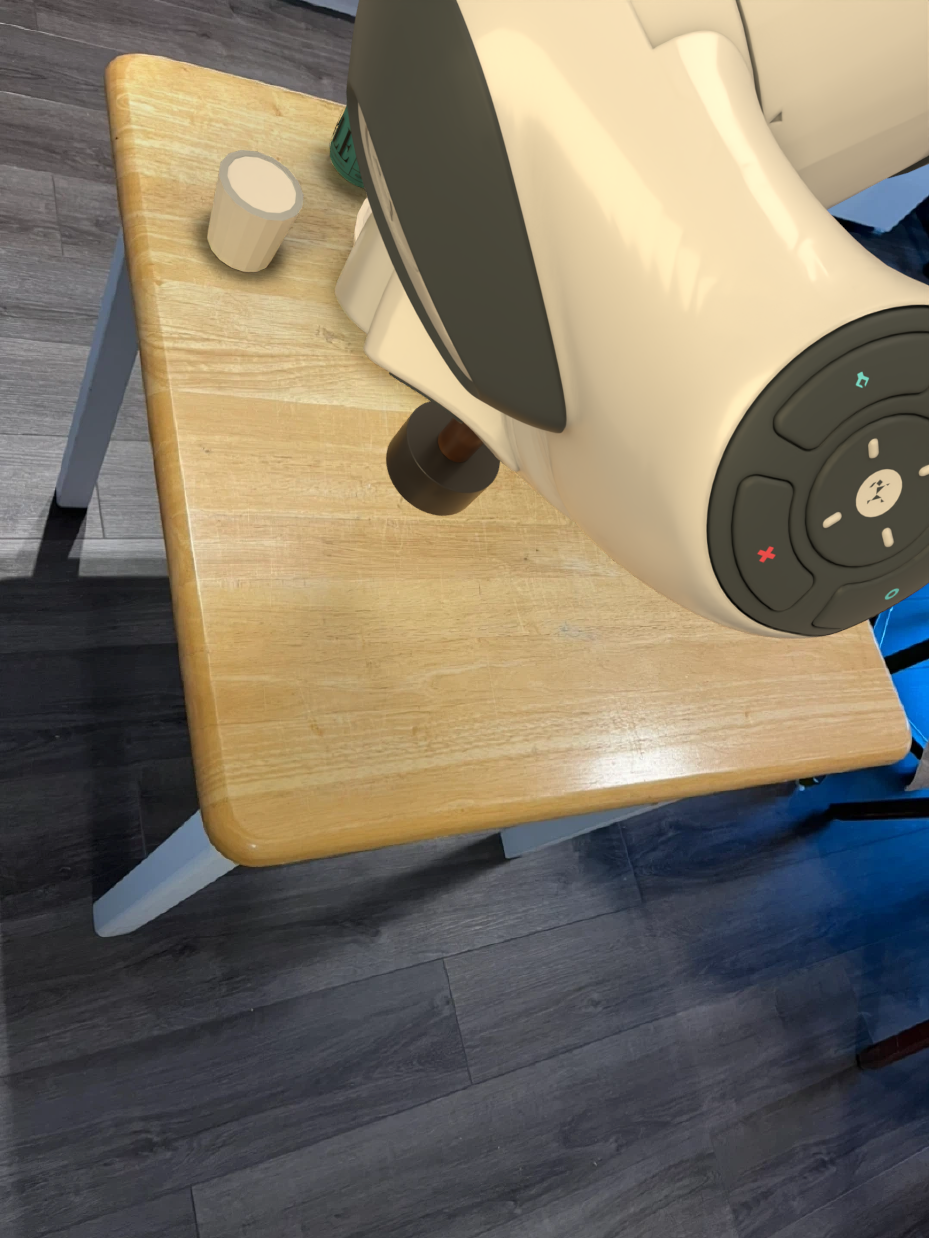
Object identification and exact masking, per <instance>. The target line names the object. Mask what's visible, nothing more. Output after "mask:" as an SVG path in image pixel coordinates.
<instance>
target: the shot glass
mask: <svg viewBox="0 0 929 1238" xmlns="http://www.w3.org/2000/svg"><path fill="white" fill-rule="evenodd" d="M304 196H305V195H304V192H303V189H302V187H301V184H300V182H299V180H298V179H297V178H296V176H295V175H294V173H292V171H291V170H290V169H289V168H288V167H287V166H286V165H284V164H283V163H282V162H280V161H278V160H277V159H276V158H275V157H273V156H270V155H267V154H265V153H263V152H260V151H258V150H249V149H239V150H236V151H232V152H229V153H227V154H226V155H225V157H224V158H223V159H222V160H221V161H220V163H219V168H218V174H217V180H216V185H215V190H214V196H213V201H212V207H211V213H210V217H209V222H208V228H207V236H206V240H207V243H208V245H209V247H210V250H211V251H212V253H213V254H214V256H216V257H217V259H218V260H219V261H221V262H222V263H223V264H225V265H227V266H228V267H230V268H231V269H234V270H238V271H240V272H242V273H243V272H244V273H258V272H260V271H262V270H265V269H266V268H267V267H268V266H269V265H270V263H271V262H272V260H273V259H274V257H275V256H276V254H277V252H278V250H279V249H280V247H281V245H282V244H283V242H284V240H285V238H286V237H287V235H288V233H289V232H290V230H291V228H292V227H293V224H294V222H295V221H296V219H297V217H298V216H299V214H300V213H301V210H302V209H303V206H304Z"/></svg>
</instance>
